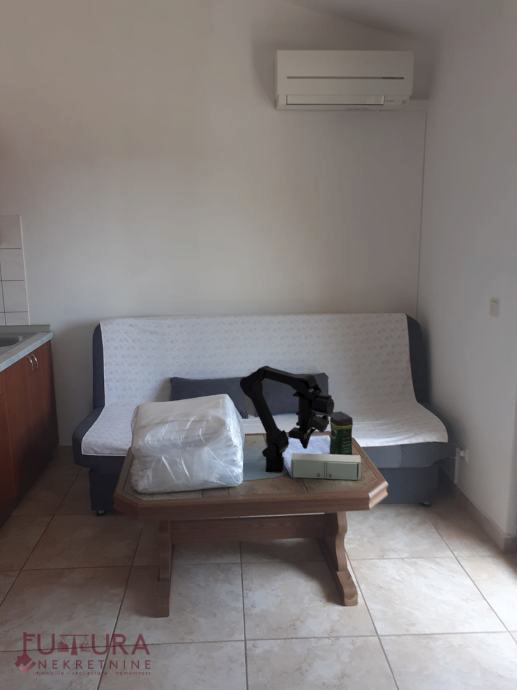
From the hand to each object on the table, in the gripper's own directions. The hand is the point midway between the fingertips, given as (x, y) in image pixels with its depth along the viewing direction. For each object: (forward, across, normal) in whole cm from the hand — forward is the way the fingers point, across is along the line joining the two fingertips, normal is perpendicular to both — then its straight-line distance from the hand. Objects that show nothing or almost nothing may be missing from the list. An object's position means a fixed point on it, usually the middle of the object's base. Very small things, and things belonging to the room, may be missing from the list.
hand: (305, 448), depth 208 cm
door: (+12, 0, -1) cm, 12 cm away
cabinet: (+12, +5, -6) cm, 14 cm away
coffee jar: (+12, +24, -6) cm, 27 cm away
